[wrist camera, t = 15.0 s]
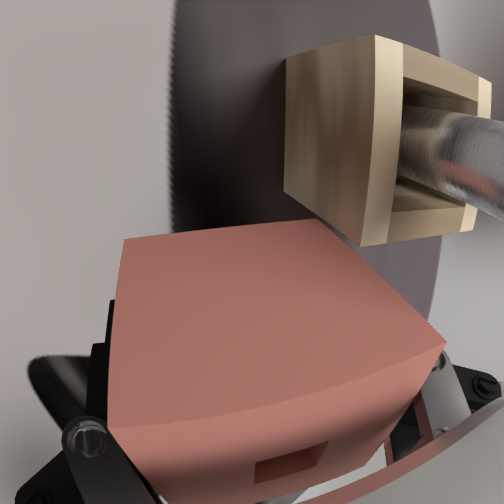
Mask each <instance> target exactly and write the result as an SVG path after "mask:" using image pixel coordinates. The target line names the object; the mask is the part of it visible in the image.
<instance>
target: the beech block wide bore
mask: <svg viewBox="0 0 504 504" xmlns="http://www.w3.org/2000/svg"><path fill="white" fill-rule="evenodd" d="M402 105H409V106H417V107H425V108H432V109H439V110H445V111H451V112H457V113H463V114H468V115H473V116H478V117H483V118H487V119H490V112H491V83H490V82H488V81H487V80H485V79H483V78H481V77H479V76H477V75H475V74H473V73H471V72H469V71H467V70H465V69H463V68H461V67H459V66H457V65H455V64H452V63H450V62H448V61H446V60H443V59H441V58H439V57H436V56H434V55H432V54H429V53H427V52H424V51H421V50H419V49H416V48H414V47H411V46H408V45H405V44H402V43H400V42H397V41H394V40H391V39H387V38H384V37H381V36H378V35H371V36H366V37H361V38H357V39H352V40H348V41H344V42H340V43H336V44H332V45H328V46H324V47H321V48H317V49H314V50H310V51H307V52H304V53H300V54H297V55H294V56H291V57H288V58H286V113H285V158H284V190H283V191H284V192H285V193H287V194H288V195H289V196H291V197H292V198H294V199H295V200H297V201H298V202H299V203H301V204H302V205H304V206H305V207H307V208H308V209H309V210H311V211H312V212H313V213H315V214H316V215H318V216H319V217H320V218H322V219H323V220H325V221H326V222H327V223H329V224H330V225H331V226H333V227H334V228H335V229H337V230H338V231H339V232H341V233H342V234H343V235H345V236H346V237H347V238H349V239H350V240H351V241H353V242H354V243H355V244H357V245H358V246H359V247H364V246H371V245H377V244H384V243H391V242H398V241H404V240H411V239H417V238H424V237H431V236H437V235H444V234H450V233H456V232H463V231H469V230H473V227H474V222H475V218H476V214H477V209H478V208H476V207H474V206H471V205H469V204H467V203H465V202H463V201H461V200H459V199H456V198H454V197H452V196H450V195H447V194H445V193H443V192H440V191H438V190H436V189H433V188H431V187H429V186H426V185H424V184H421V183H419V182H416V181H414V180H411V179H409V178H406V177H404V176H401V175H398V174H397V165H398V156H399V145H400V133H401V118H402Z"/></svg>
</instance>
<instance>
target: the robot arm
mask: <svg viewBox="0 0 504 504" xmlns="http://www.w3.org/2000/svg"><path fill="white" fill-rule="evenodd" d="M114 306H115V300H110V304H109V312H108V320H107V328H106V337H105V343H96V344H93V346H92V349H91V357H90V366H89V375H88V385H87V396H86V410H85V416H82V417H78V418H76V419H74V420H72V421H71V422H70V423H69V424H68V425H67V426H66V427H65V429H64V431H63V433H62V439H61V442H62V448H63V450H62V451H61V452H60V453H59V454H58V455H57V456H56V457H54V458H53V459H52V460H51V461H50V462H49V463H48V464H46V465H45V466H44V467H43V468H42V469H41V470H40V471H39V472H37V473H36V474H35V475H34V476H33V477H32V478H31V479H30V480H28V481H27V482H26V483H25V484H24V485H23V486H22V487H21V488H20V489H19V490H18V491H17V494H16V497H15V504H164V503H163V502H162V500H161V499H160V497H159V496H158V494H157V493H156V491H155V490H154V488H153V486H152V485H151V484H150V483H149V482H148V481H147V479H146V478H145V477H144V476H143V475H142V473H141V472H140V471H139V470H138V469H137V467H136V466H135V465H134V464H133V462H132V461H131V460H130V458H129V457H128V456H127V454H126V453H125V452H124V451H123V449H122V448H121V446H120V445H119V444H118V442H117V441H116V440H115V438H114V437H113V435H112V434H111V433H110V431H109V430H108V378H109V360H110V346H111V334H112V324H113V314H114ZM384 449H385V456H386V464H387V467H385V468H383V469H381V470H379V471H377V472H375V473H373V474H371V475H369V476H367V477H364V478H362V479H360V480H358V481H355V482H353V483H351V484H348V485H346V486H343V487H341V488H339V489H336V490H333V491H331V492H328V493H326V494H323V495H320V496H318V497H315V498H312V499H309V500H306V501H303V502H300V503H297V504H504V382H500V383H499V382H498V381H497V380H496V379H495V378H494V377H493V376H492V375H490V374H488V373H485V372H481V371H477V370H472V369H468V368H465V367H461V366H456V365H453V364H452V363H451V361H450V359H449V357H448V355H447V353H446V352H445V351H444V350H442V352H441V354H440V356H439V357H438V359H437V361H436V363H435V365H434V366H433V368H432V370H431V372H430V373H429V375H428V377H427V378H426V380H425V382H424V383H423V385H422V387H421V388H420V390H419V392H418V393H417V395H416V396H415V398H414V399H413V401H412V402H411V404H410V405H409V407H408V408H407V410H406V411H405V413H404V414H403V416H402V417H401V419H400V420H399V422H398V423H397V424H396V426H395V427H394V429H393V430H392V431H391V433H390V434H389V435H388V437H387V438H386V439H385V441H384Z"/></svg>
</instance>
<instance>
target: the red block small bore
mask: <svg viewBox="0 0 504 504" xmlns="http://www.w3.org/2000/svg"><path fill="white" fill-rule="evenodd" d="M446 342H447V341H446V340H445V339H444V338H443V337H441V335H440V334H439V333H438V332H437V331H436V330H435V329H434V328H433V327H432V326H431V325H430V324H429V323H428V322H427V321H426V320H425V319H424V318H423V317H422V316H421V315H420V314H419V313H418V312H417V311H416V310H415V309H414V308H413V307H412V306H411V305H410V304H409V303H408V302H407V301H406V300H405V299H404V298H403V297H402V296H401V295H400V294H399V293H398V292H397V291H396V290H395V289H394V288H393V287H392V286H391V285H390V284H389V283H388V282H387V281H386V280H385V279H383V278H382V277H381V276H380V275H379V274H378V273H377V272H376V271H375V270H374V269H373V268H372V267H371V266H370V265H369V264H367V263H366V262H365V261H364V260H363V259H362V258H361V257H360V256H359V255H358V254H357V253H355V252H354V251H353V250H352V249H351V248H350V247H349V246H348V245H347V244H345V243H344V242H343V241H342V240H341V239H340V238H339V237H338V236H336V235H335V234H334V233H333V232H332V231H331V230H330V229H329V228H327V227H326V226H325V225H324V224H323V223H322V222H321V221H319V220H318V219H317V218H315V219H304V220H293V221H283V222H273V223H263V224H253V225H243V226H233V227H224V228H215V229H206V230H197V231H188V232H180V233H171V234H164V235H155V236H147V237H139V238H132V239H125V240H124V246H123V251H122V257H121V263H120V269H119V276H118V283H117V290H116V298H115V306H114V314H113V324H112V334H111V346H110V360H109V378H108V430H109V431H110V433H111V434H112V435H113V437H114V438H115V440H116V441H117V442H118V444H119V445H120V446H121V448H122V449H123V451H124V452H125V453H126V454H127V456H128V457H129V458H130V460H131V461H132V462H133V464H134V465H135V466H136V467H137V469H138V470H139V471H140V472H141V473H142V475H143V476H144V477H145V478H146V479H147V481H148V482H149V483H150V484H151V485H152V486H153V488H154V489H155V490H156V491H157V492H158V493H159V494H160V495H161V496H162V498H163V499H164V500H165V501H166V502H167V503H168V504H253V503H257V502H261V501H265V500H269V499H273V498H277V497H280V496H284V495H287V494H291V493H294V492H297V491H300V490H303V489H306V488H309V487H312V486H315V485H318V484H321V483H323V482H326V481H329V480H331V479H334V478H337V477H339V476H342V475H344V474H347V473H349V472H351V471H354V470H356V469H358V468H361V467H363V466H364V465H365V464H366V463H367V462H368V461H369V460H370V458H371V457H372V456H373V454H374V453H375V452H376V451H377V450H378V448H379V447H380V446H381V444H382V443H383V442H384V441H385V439H386V438H387V437H388V435H389V434H390V433H391V431H392V430H393V429H394V427H395V426H396V424H397V423H398V422H399V420H400V419H401V417H402V416H403V414H404V413H405V411H406V410H407V408H408V407H409V405H410V404H411V402H412V401H413V399H414V398H415V396H416V395H417V393H418V392H419V390H420V388H421V387H422V385H423V383H424V382H425V380H426V378H427V377H428V375H429V373H430V372H431V370H432V368H433V366H434V365H435V363H436V361H437V359H438V357H439V356H440V354H441V352H442V350H443V348H444V346H445V344H446Z"/></svg>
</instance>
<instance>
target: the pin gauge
mask: <svg viewBox="0 0 504 504" xmlns="http://www.w3.org/2000/svg"><path fill="white" fill-rule="evenodd" d="M397 174H398V175H401V176H404V177H406V178H409V179H411V180H414V181H416V182H419V183H421V184H424V185H426V186H429V187H431V188H433V189H436V190H438V191H440V192H443V193H445V194H447V195H450V196H452V197H454V198H456V199H459V200H461V201H463V202H465V203H467V204H469V205H471V206H474V207H476V208H478V209H480V210H482V211H484V212H486V213H488V214H490V215H492V216H494V217H496V218H498V219H500V220H502V221H504V122H500V121H496V120H491V119H487V118H483V117H478V116H473V115H468V114H463V113H457V112H451V111H445V110H439V109H432V108H425V107H417V106H409V105H402V118H401V133H400V145H399V156H398V165H397Z"/></svg>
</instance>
